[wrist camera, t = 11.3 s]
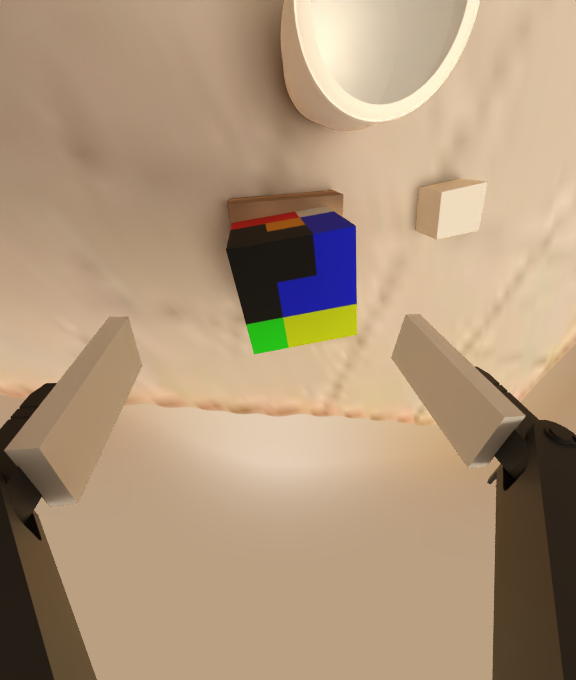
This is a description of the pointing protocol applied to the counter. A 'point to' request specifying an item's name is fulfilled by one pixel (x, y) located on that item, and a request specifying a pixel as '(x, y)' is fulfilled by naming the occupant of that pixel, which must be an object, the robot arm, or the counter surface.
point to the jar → (369, 56)
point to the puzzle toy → (295, 277)
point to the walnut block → (282, 204)
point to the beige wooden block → (450, 208)
